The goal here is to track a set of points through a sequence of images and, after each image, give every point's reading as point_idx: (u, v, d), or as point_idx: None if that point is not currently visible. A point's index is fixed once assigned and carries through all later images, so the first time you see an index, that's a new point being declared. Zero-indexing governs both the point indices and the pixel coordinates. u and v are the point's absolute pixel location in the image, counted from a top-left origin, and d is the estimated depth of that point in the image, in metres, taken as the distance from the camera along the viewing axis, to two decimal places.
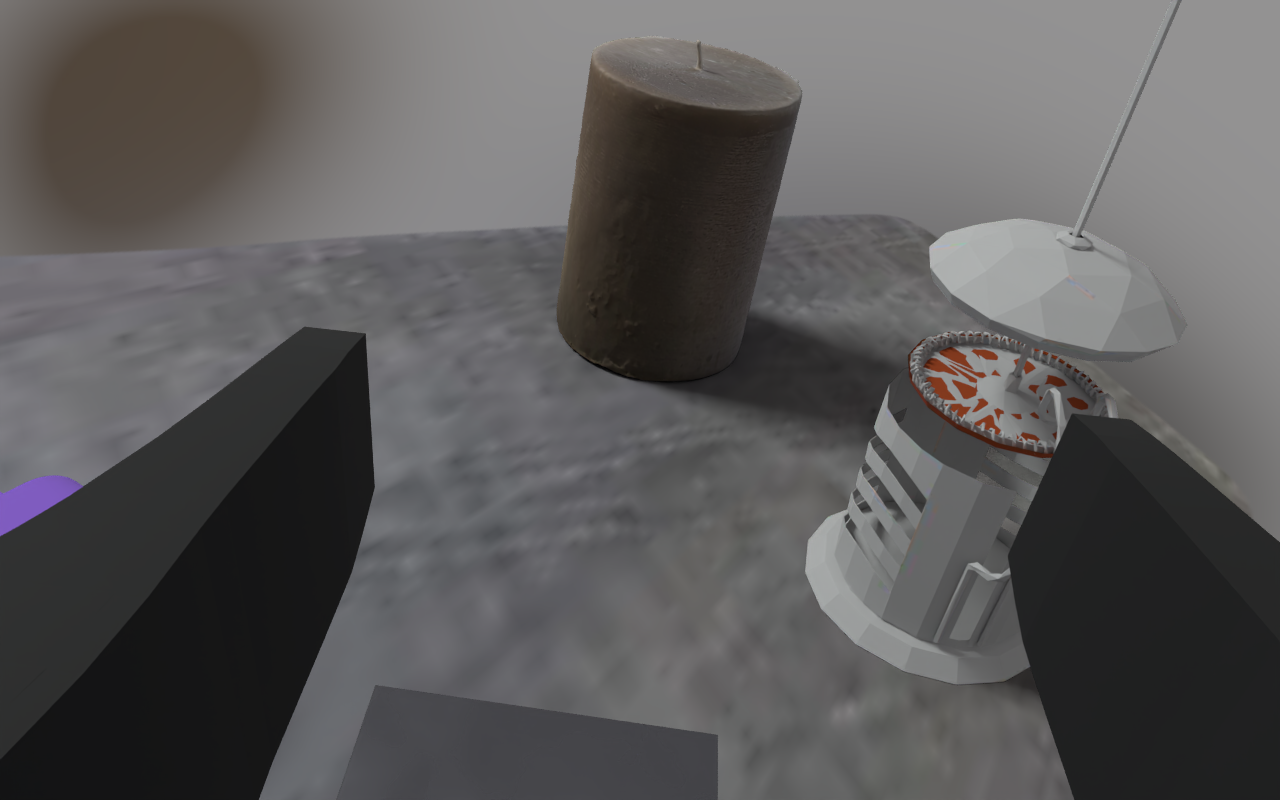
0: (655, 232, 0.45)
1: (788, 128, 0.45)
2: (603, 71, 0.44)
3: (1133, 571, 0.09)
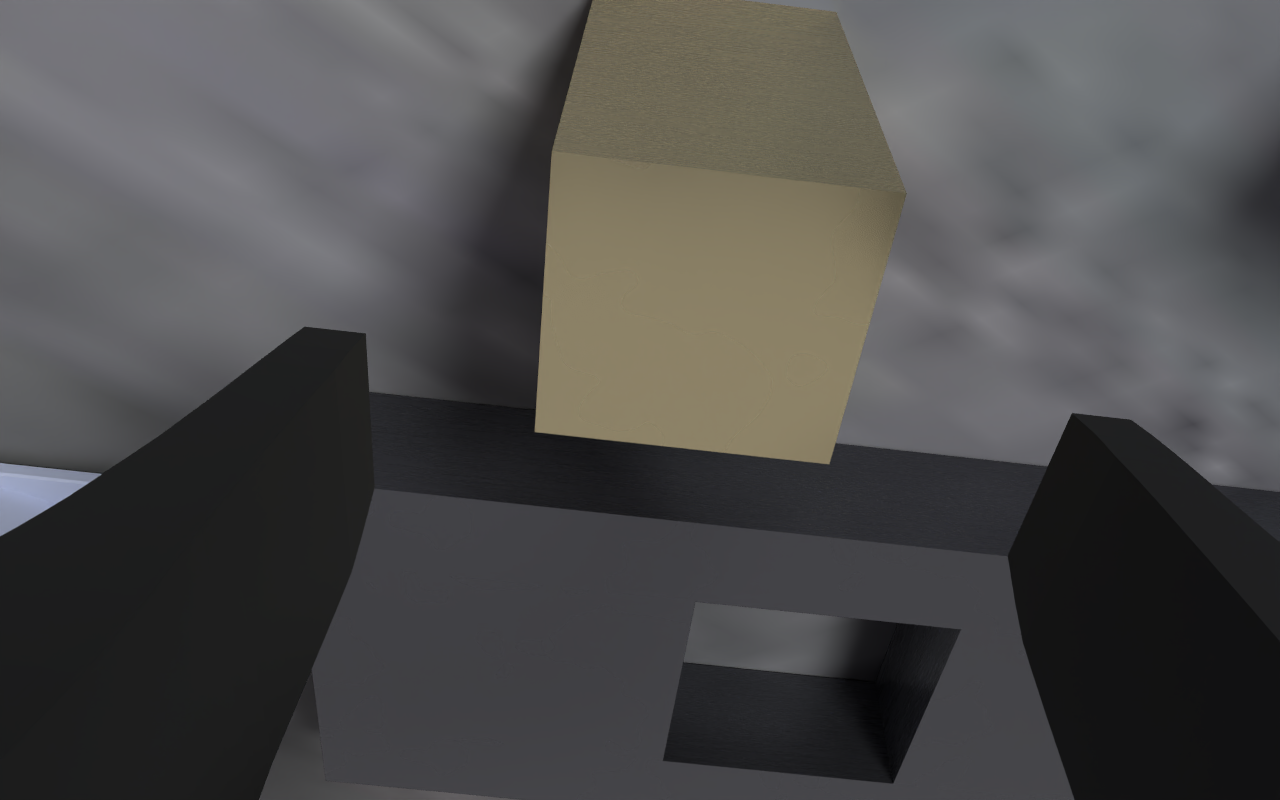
0: None
1: None
2: None
3: (1133, 571, 0.09)
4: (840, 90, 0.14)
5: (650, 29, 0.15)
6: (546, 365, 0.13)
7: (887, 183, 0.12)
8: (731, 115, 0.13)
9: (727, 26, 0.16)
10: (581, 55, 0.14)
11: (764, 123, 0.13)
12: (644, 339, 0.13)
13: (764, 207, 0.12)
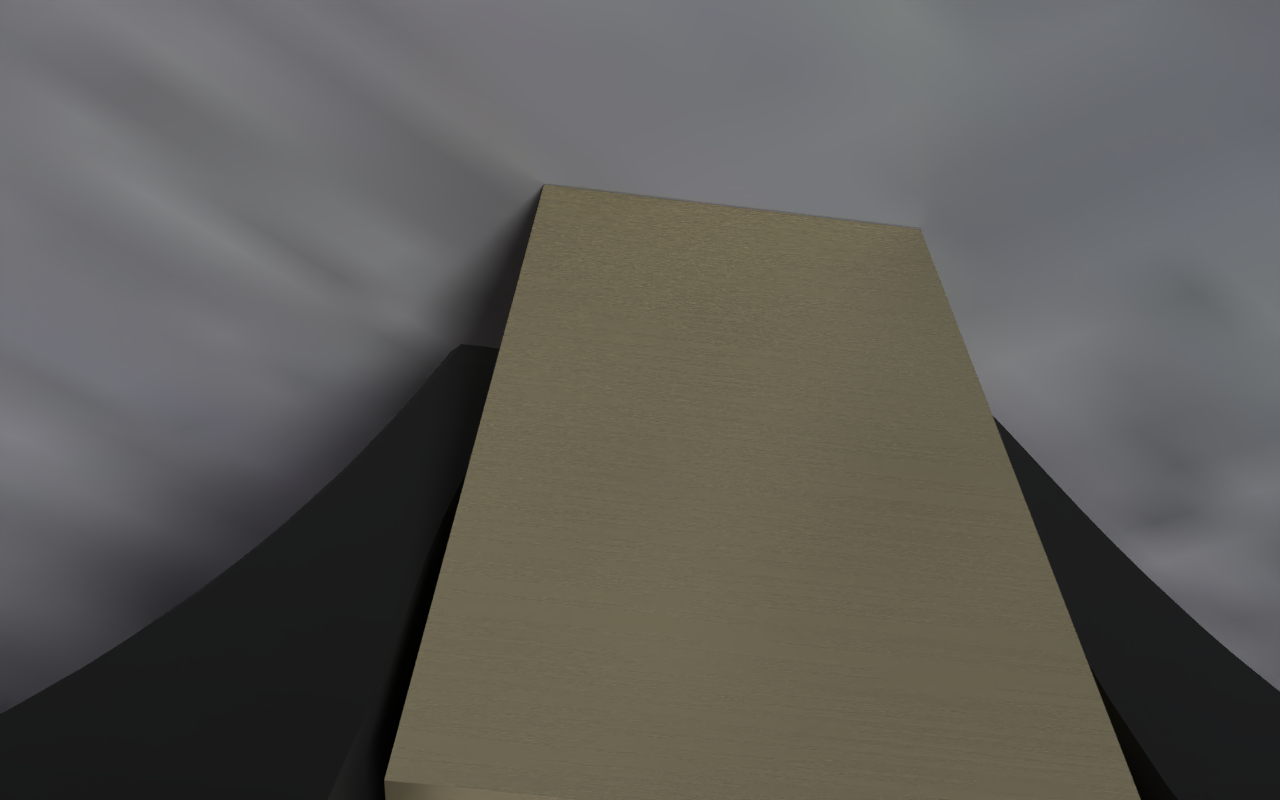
0: None
1: None
2: None
3: None
4: (962, 456, 0.08)
5: (624, 302, 0.09)
6: None
7: None
8: (769, 572, 0.07)
9: (752, 282, 0.10)
10: (494, 394, 0.08)
11: (837, 597, 0.07)
12: None
13: None
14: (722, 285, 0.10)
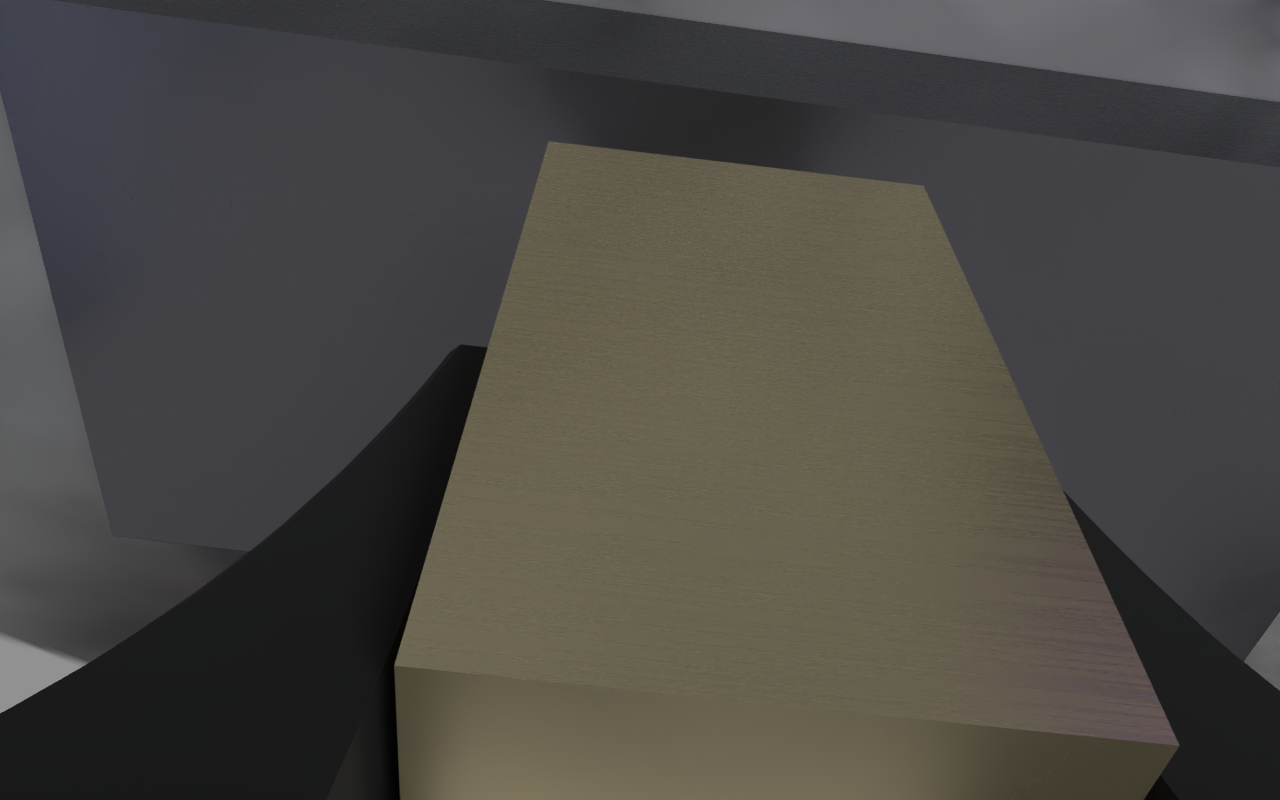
0: None
1: None
2: None
3: None
4: (969, 386, 0.08)
5: (628, 245, 0.09)
6: None
7: (1129, 707, 0.05)
8: (778, 485, 0.07)
9: (757, 230, 0.10)
10: (501, 324, 0.08)
11: (847, 507, 0.07)
12: None
13: (866, 761, 0.05)
14: (727, 232, 0.10)
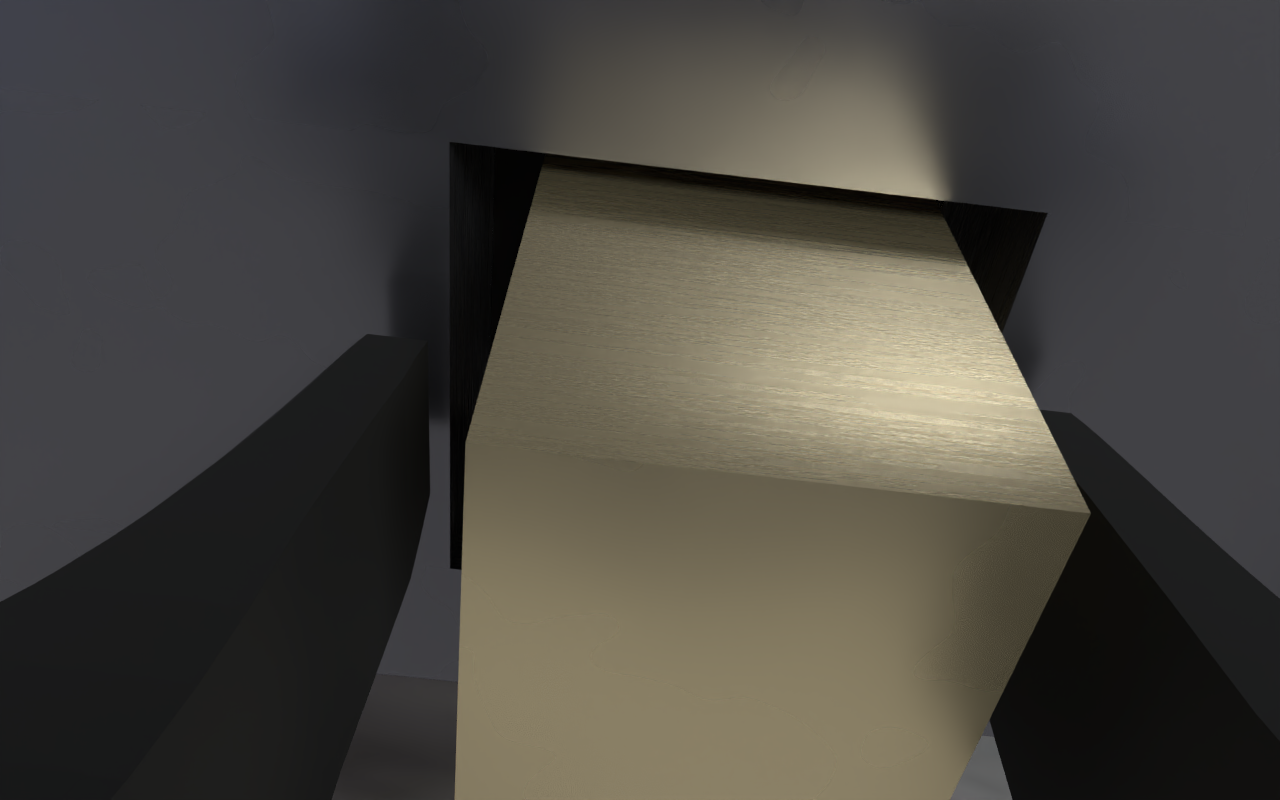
0: None
1: None
2: None
3: None
4: (933, 272, 0.09)
5: (640, 164, 0.10)
6: (470, 735, 0.08)
7: (1053, 489, 0.07)
8: (771, 337, 0.08)
9: None
10: (534, 217, 0.09)
11: (827, 353, 0.08)
12: (630, 705, 0.08)
13: (842, 530, 0.07)
14: None
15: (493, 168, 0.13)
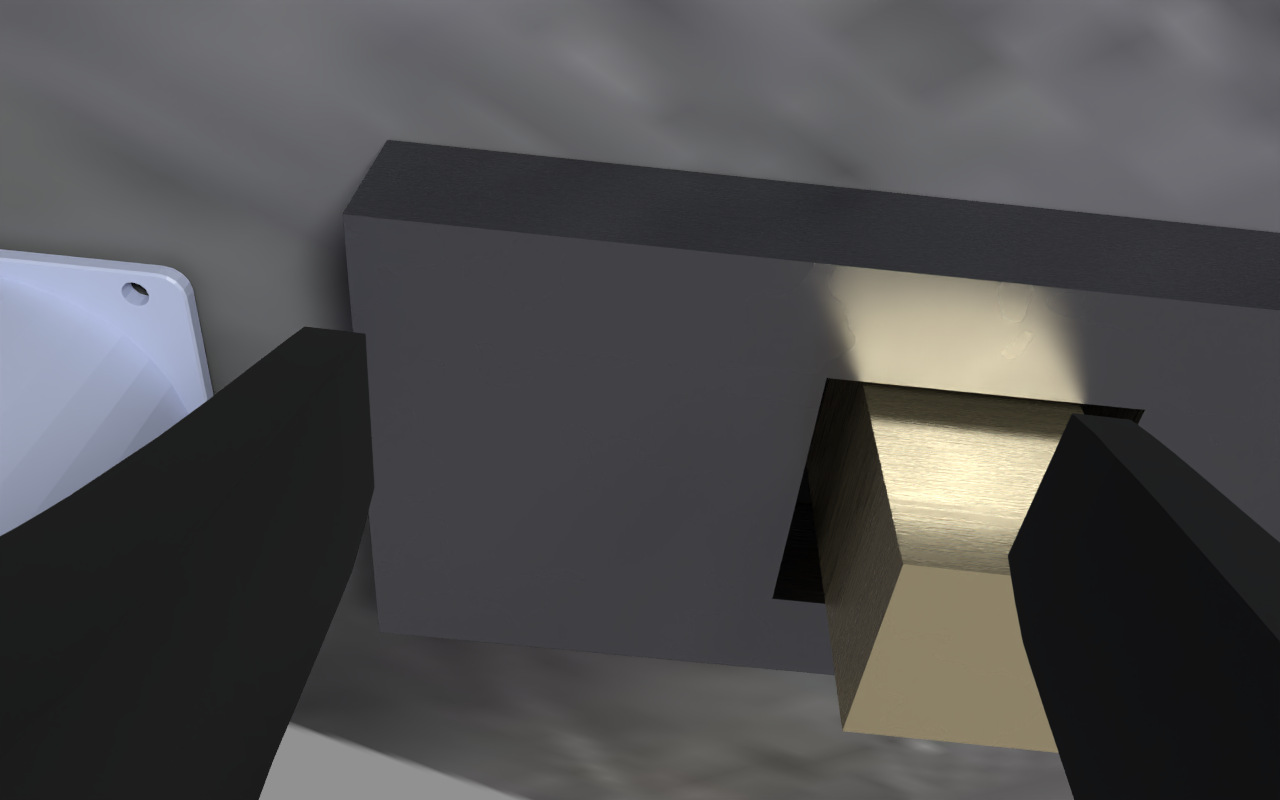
0: None
1: None
2: None
3: (1133, 572, 0.09)
4: None
5: None
6: (863, 690, 0.17)
7: None
8: (1013, 499, 0.16)
9: None
10: (874, 424, 0.18)
11: None
12: (947, 675, 0.16)
13: None
14: None
15: None
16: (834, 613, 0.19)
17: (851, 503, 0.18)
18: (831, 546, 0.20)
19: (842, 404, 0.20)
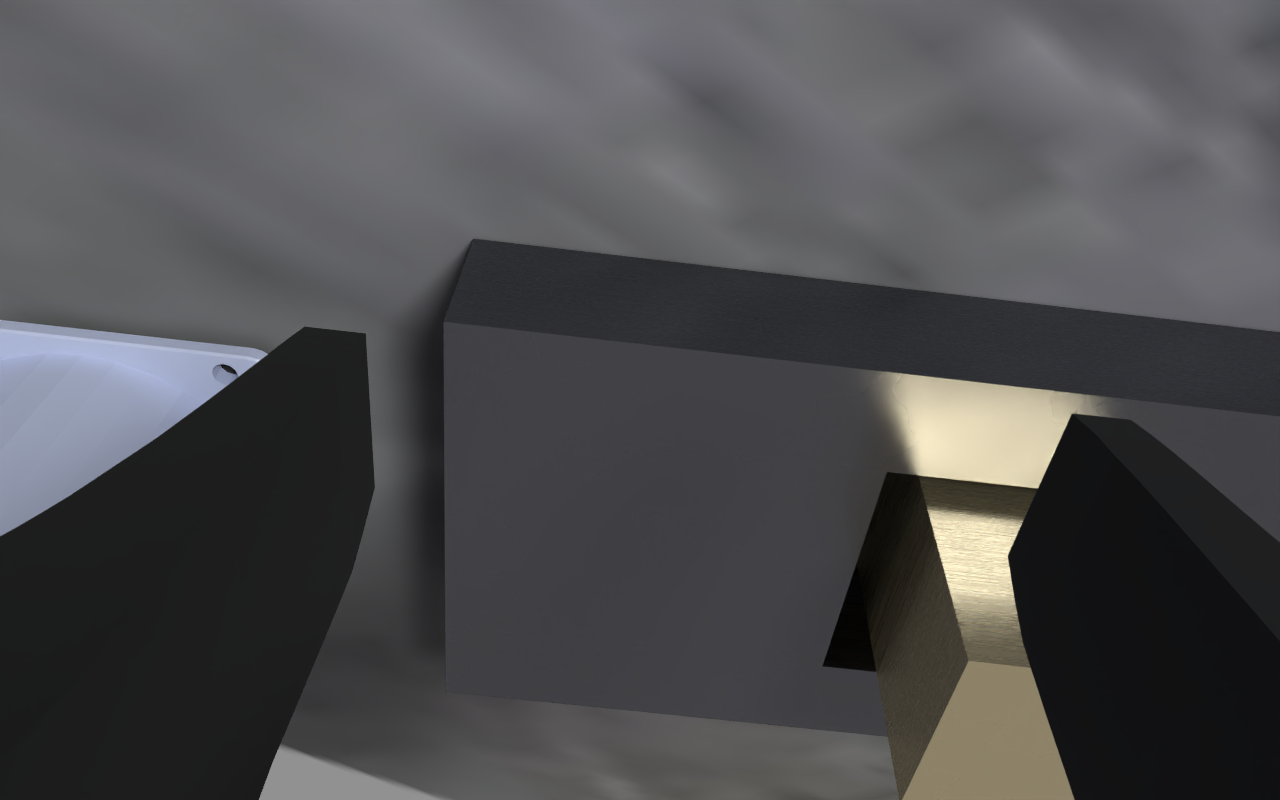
0: None
1: None
2: None
3: (1133, 572, 0.09)
4: None
5: None
6: (923, 769, 0.18)
7: None
8: None
9: None
10: (932, 517, 0.19)
11: None
12: (1001, 757, 0.18)
13: None
14: None
15: None
16: (888, 688, 0.20)
17: (906, 587, 0.20)
18: (883, 622, 0.21)
19: (894, 487, 0.21)
